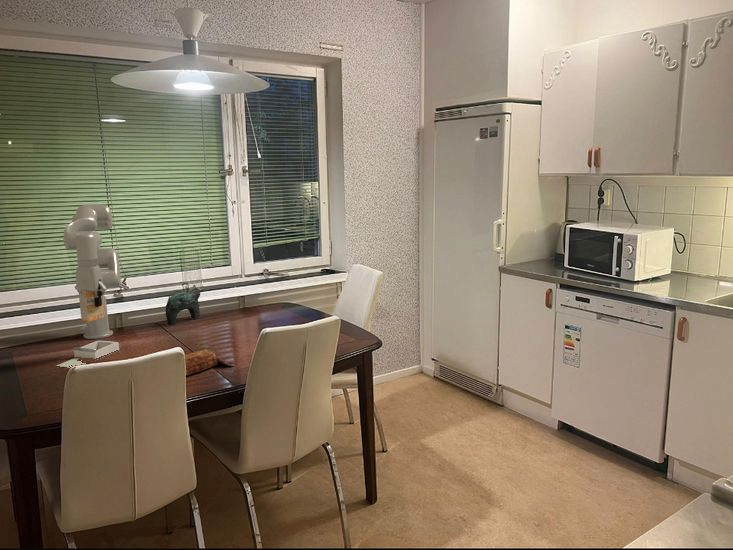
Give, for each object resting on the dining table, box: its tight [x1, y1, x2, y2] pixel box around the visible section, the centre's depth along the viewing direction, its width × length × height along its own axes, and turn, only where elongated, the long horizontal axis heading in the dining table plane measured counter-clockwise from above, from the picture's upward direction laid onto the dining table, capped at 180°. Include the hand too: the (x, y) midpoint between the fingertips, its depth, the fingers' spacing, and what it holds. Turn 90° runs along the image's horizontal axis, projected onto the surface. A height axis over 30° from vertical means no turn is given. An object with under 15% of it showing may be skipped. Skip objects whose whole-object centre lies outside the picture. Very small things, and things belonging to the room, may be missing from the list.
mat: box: [55, 357, 86, 369], centre depth 225 cm, size 10×10×1 cm
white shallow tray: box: [72, 340, 120, 359], centre depth 237 cm, size 11×14×4 cm
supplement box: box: [78, 289, 105, 323], centre depth 234 cm, size 8×5×13 cm, turn 148°
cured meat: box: [185, 349, 235, 377], centre depth 218 cm, size 18×25×7 cm
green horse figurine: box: [165, 282, 201, 326], centre depth 287 cm, size 20×6×20 cm, turn 144°
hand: (92, 305), depth 234 cm, fingers closed on supplement box, 5 cm apart
